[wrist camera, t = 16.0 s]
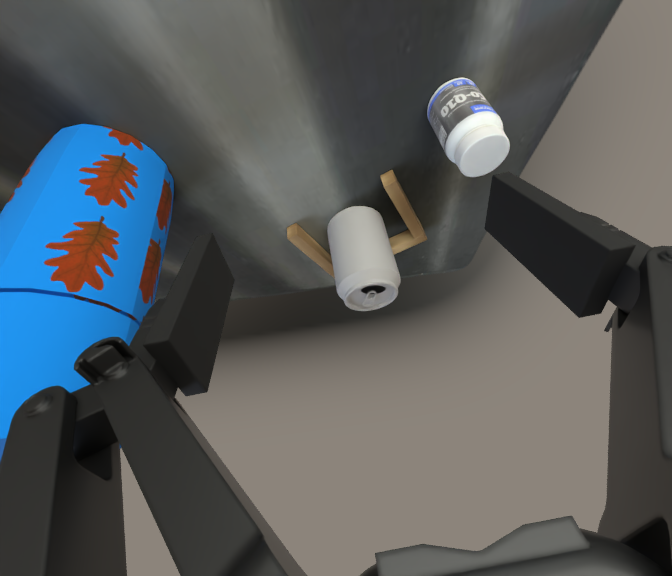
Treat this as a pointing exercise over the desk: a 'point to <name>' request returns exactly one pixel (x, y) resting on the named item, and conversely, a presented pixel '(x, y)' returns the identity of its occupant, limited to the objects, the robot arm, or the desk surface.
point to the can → (362, 259)
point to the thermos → (77, 257)
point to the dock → (397, 242)
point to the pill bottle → (467, 127)
